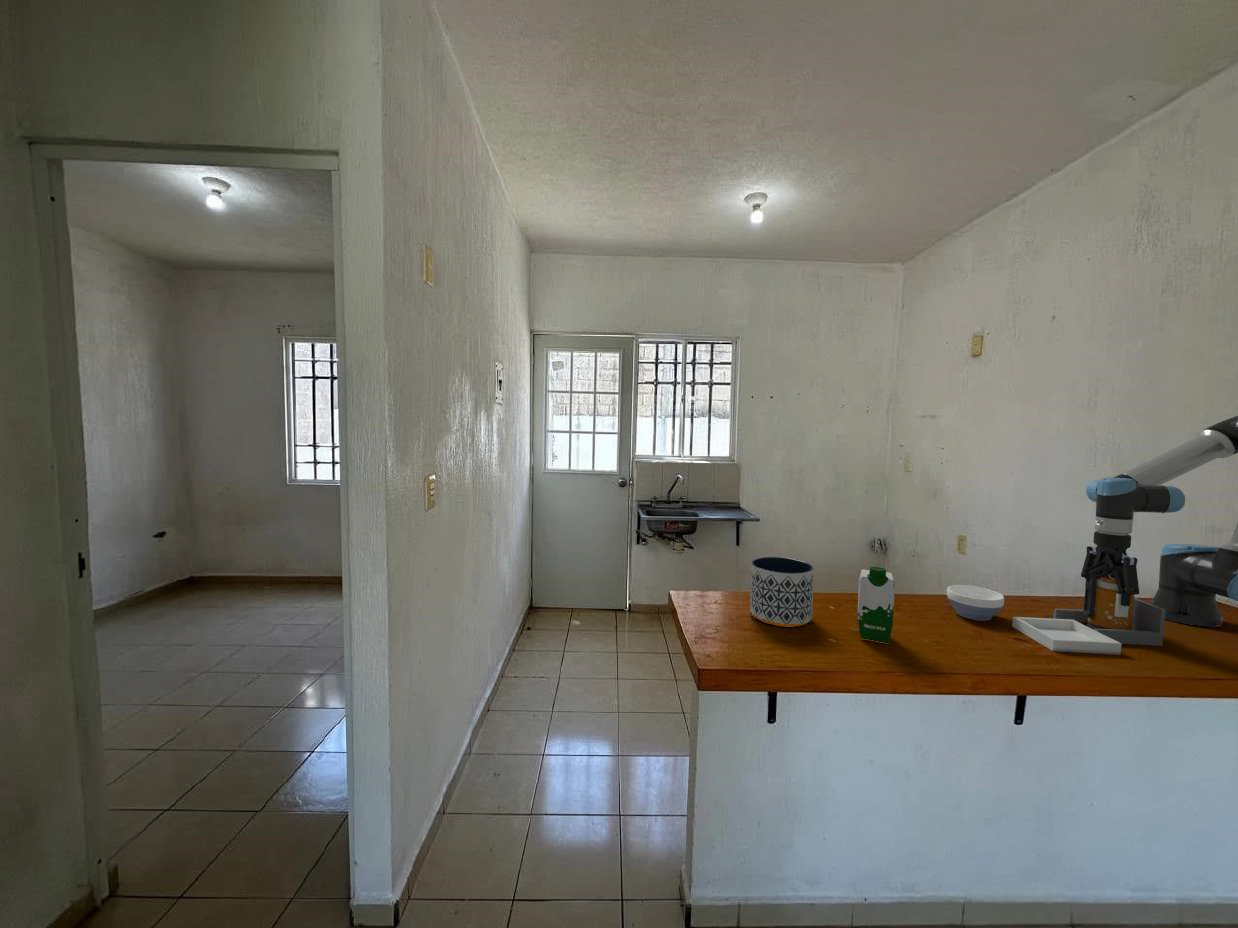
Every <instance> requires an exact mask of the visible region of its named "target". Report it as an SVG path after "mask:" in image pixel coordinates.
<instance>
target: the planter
mask: <svg viewBox="0 0 1238 928" xmlns="http://www.w3.org/2000/svg"><path fill="white" fill-rule="evenodd" d="M750 564H751V565H750V591H749V592H750V594H749V596H750V597H749V598H750V599H749V612H750V611H751V612H752V614H754V615H755V616H756V617H758V618H760V619H765V620H767V621H771V622H775V623H780V624H796V625H797V624H804V623H807V622H809V621H810V620H811V619H812V620H813V601H814V600H813V599H814V598H813V597H814V577H815V576H814V569H815V568H814V566H813V565H812V564H811V563H809V562H807V561H803V560H801V559H796V558H791V557H790V558H789V557H780V556H766V557H765V556H763V557H757V558H755V559H752V560H751V563H750Z"/></svg>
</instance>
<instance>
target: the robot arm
mask: <svg viewBox="0 0 1238 928" xmlns="http://www.w3.org/2000/svg"><path fill="white" fill-rule="evenodd" d="M1237 454H1238V415H1236V416H1233V417H1230V418H1227V419H1224V420H1222V421H1220V422H1217V423H1214V424H1212V425H1210V426H1208V427H1206V428H1204V429H1202V430H1199V431H1198V432H1197V433H1196V434H1195V437H1194V438H1192V439H1190V440H1188V441H1186V442H1184V443H1181V444H1180V445H1178V446H1175V447H1174V448H1171V449H1169V450H1168V451H1165V452H1163V453H1161V454H1160V455H1157V456H1155V457H1153V458H1151V459H1149V460H1147V461H1145V462H1143V463H1140V464H1138V465H1136V466H1134V467H1132V468H1129V470H1126V471H1124V472H1122V473H1120V474H1118V475H1116V476H1113V477H1102V478H1100V479H1095V480H1092V481H1091V482H1089V483H1088V485H1087V486H1086V490H1085V491H1086V493H1085V494H1086V496H1087V498H1088V499H1089V500H1091V501H1092V502H1094V503H1096V504H1095V505H1096V506H1095V518H1094V519H1095V522H1094V530H1095V531H1094V532H1093V544H1094V545H1095V546H1092V545H1091V546H1086V555H1085V559H1084V562H1083V566H1082V569H1081V572H1080V576H1081V577H1080V578H1085V580H1086V575H1085V573H1084V570H1085V569H1087V568H1089V567H1091V566H1093V565H1095V564H1097V563H1100V562H1101V563H1102V564H1107V565H1109V567H1110V569H1112V570H1113V573H1114V576H1115V579H1116V583H1117V586H1118V589H1119V592H1117V593H1116V603H1115V615H1114V616H1116V617H1128V608H1129V606H1130V600H1131V595H1133V594H1135V595H1140V588H1139V579H1138V569H1137V565H1138V558H1137V557H1131V556H1129V555H1128V553H1127V549H1130V548H1131V546H1132V536H1131V534H1132V533H1133V525H1134V524H1133V522H1134V514H1135V513H1158V514H1159V513H1160V514H1166V513H1168V514H1169V513H1176V512H1179V511H1180V510H1182V509H1183V508H1184V506H1185V503H1186V496H1185V494H1184V492H1183V491H1182V490H1181V488H1178V487H1176V486H1171V485H1170V486H1169V485H1163V484H1166V483H1168V482H1170V481H1172V480H1174V479H1176V478H1178V477H1180V476H1183V475H1185V474H1187V473H1189V472H1191V471H1193V470H1195V469H1197V468H1199V467H1201V466H1204V465H1206V464H1208V463H1211V462H1212V461H1214V460H1216V459H1227V458H1229V457H1231V456H1233V455H1237ZM1120 565H1121V566H1120ZM1096 569H1097V568H1096ZM1094 570H1095V569H1094ZM1158 575H1159V576H1158V577H1159V578H1158V588H1157V591H1156V592H1155V594H1154V596H1153V598H1152V601H1151V602H1148V603H1149V604H1152V605H1155V606H1157V607H1160V608H1163V609H1165V610H1166V612H1165V620H1166V621H1171V622H1173V621H1174V622H1173V623H1178V622H1179V623H1178V624H1182V623H1183V624H1184V625H1187V624H1189V625H1188V626H1193V625H1197V626H1196V627H1200V626H1216V625H1220V624H1222V625H1223V621H1224V619H1223V615H1222V614H1221V611H1220V607H1219V605H1218V602H1217V600H1216V598H1217V597H1216V595H1218V596H1221V597H1225V598H1228V599H1231V600H1233V601H1235V602H1238V521H1237V522H1236V524H1235V526H1234V530H1233V533H1232V536H1231V538H1230V540H1229V542H1228V543H1227V544H1223V545H1221V546H1216V545H1215V546H1214V545H1206V544H1205V545H1204V544H1191V543H1190V544H1189V543H1188V544H1187V543H1168V544H1165V545H1164V546H1163V547H1162V549H1161V554H1160V559H1159V574H1158ZM1124 588H1125V590H1124ZM1183 624H1182V625H1183Z"/></svg>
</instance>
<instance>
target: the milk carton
mask: <svg viewBox="0 0 1238 928" xmlns="http://www.w3.org/2000/svg"><path fill="white" fill-rule="evenodd" d="M859 575H860V576H859V579H858V596H857V623H858V630H859V637H860V638H863V639H869V640H874V641H879V642H885V643H889V644H890V642H891V636H892V633H893V632H892V630H893V627H894V626H893V624H894V612H895V611H894V609H895V608H894V606H895V585H896V584H895V581H894V575H893V574H892V572H890V571H889V572H887V569H885V568H883V567H878V566H877V567H876V566H871V567H869V569H861V571H860V574H859Z"/></svg>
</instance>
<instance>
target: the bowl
mask: <svg viewBox="0 0 1238 928" xmlns="http://www.w3.org/2000/svg"><path fill="white" fill-rule="evenodd" d="M946 597H947V598H948V600H949V602H950V604H951V606H952V608H953V609H954V610H955V612H956V614H957V615H959V616H961V617H962V618H965V619H967V620H971V619H972V621H977V622H987V621H991V620H992V619H993V617H995V616H996V615H998V613H999V612H1000V611H1001V610H1002V608H1003V607H1004V604H1005V596H1004V595H1003V594H1002V593H999V592H998V591H995V590H992V589H989V588H985V587H980V586H974V585H965V584H955V585H949V586H948V587H947V588H946Z"/></svg>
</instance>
